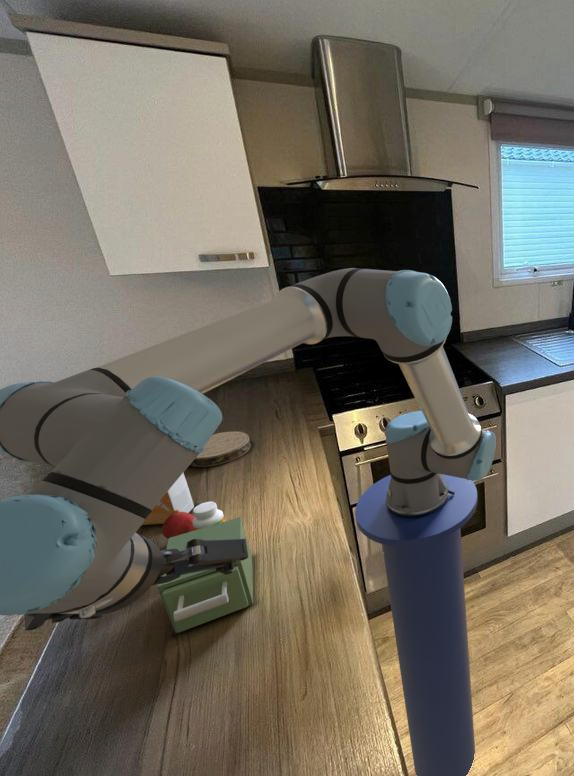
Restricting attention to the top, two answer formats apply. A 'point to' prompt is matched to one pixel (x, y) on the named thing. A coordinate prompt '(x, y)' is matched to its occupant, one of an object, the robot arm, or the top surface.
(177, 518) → the onion
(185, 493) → the small box
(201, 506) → the supplement bottle
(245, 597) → the drawer
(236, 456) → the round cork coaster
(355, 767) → the top surface
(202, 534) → the cabinet
